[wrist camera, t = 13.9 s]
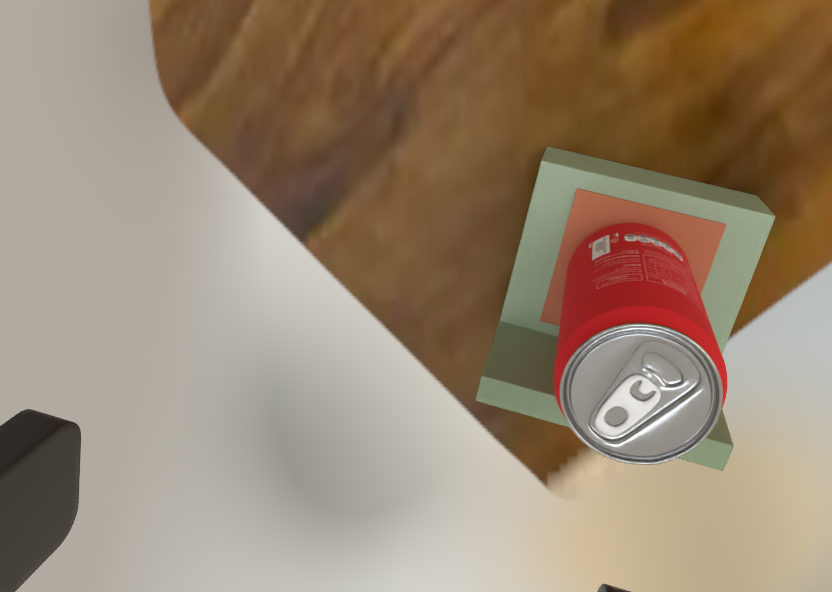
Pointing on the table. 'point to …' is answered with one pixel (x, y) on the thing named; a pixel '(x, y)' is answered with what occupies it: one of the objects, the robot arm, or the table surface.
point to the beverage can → (636, 348)
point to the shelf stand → (581, 217)
